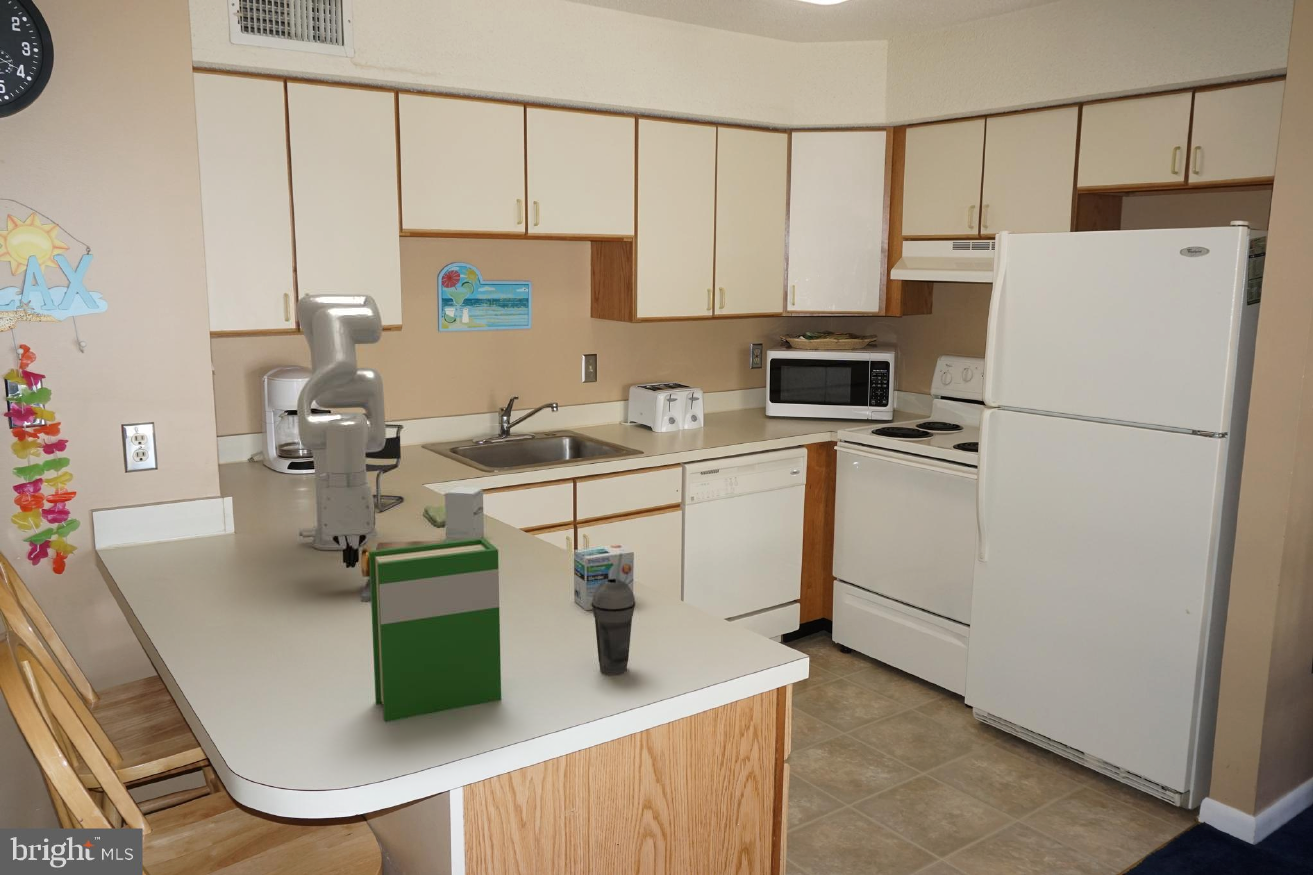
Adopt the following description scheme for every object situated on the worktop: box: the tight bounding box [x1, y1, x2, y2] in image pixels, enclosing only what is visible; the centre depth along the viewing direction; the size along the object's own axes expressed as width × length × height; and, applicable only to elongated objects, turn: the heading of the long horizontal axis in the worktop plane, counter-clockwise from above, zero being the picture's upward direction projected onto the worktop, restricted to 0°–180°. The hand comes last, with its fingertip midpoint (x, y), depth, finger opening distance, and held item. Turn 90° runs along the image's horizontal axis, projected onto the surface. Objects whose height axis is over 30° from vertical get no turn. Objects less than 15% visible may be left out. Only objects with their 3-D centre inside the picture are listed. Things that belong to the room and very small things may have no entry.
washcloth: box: [422, 504, 446, 528], centre depth 261 cm, size 13×18×3 cm
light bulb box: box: [573, 543, 635, 611], centre depth 194 cm, size 11×7×11 cm, turn 118°
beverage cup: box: [591, 553, 636, 676], centre depth 160 cm, size 7×7×20 cm
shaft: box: [360, 547, 373, 578], centre depth 203 cm, size 20×6×6 cm, turn 99°
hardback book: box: [369, 537, 502, 723], centre depth 148 cm, size 18×7×24 cm, turn 116°
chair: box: [365, 423, 404, 512], centre depth 273 cm, size 13×17×22 cm
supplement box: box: [444, 486, 485, 542], centre depth 239 cm, size 7×7×13 cm
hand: (351, 565), depth 201 cm, fingers closed
